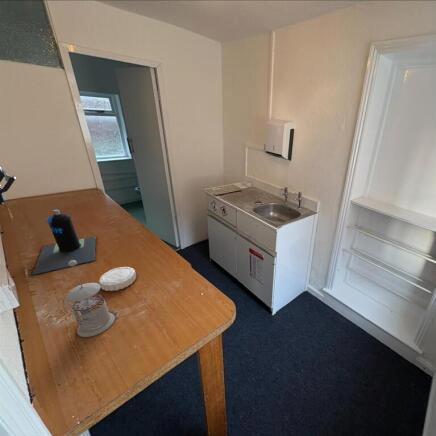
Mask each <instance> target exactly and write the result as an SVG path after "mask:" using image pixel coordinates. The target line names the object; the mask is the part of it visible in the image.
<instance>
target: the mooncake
mask: <svg viewBox="0 0 436 436" xmlns="http://www.w3.org/2000/svg"><path fill="white" fill-rule="evenodd" d="M136 279H137V273H136V269H134V267H131V266H119V267H114V268H112V269H110V270H108V271H106V272H104V273H103V274H102V275H101V276H100V278H99V280H98V284H99V285H100V289H101V290H103V291H105V292H113V291H119V290H123V289H124V288H127V287H129V286H130V285H132V284H133V283H134V282H135V281H136Z"/></svg>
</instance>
